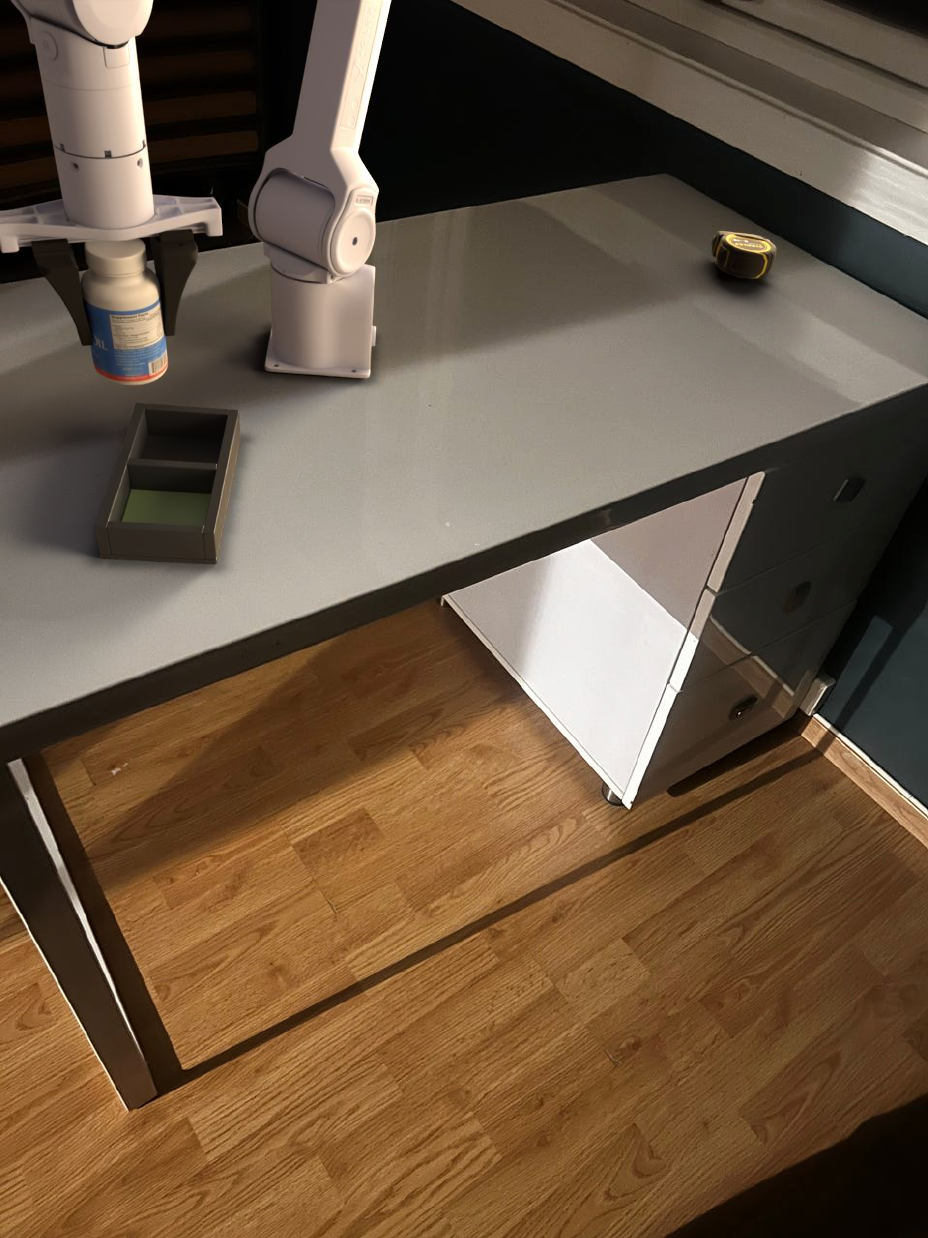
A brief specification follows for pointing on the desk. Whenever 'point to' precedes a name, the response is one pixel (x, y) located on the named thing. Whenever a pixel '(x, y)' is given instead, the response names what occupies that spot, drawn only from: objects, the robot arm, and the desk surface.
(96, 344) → the pill bottle
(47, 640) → the desk surface
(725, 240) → the tape measure
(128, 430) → the divided tray
